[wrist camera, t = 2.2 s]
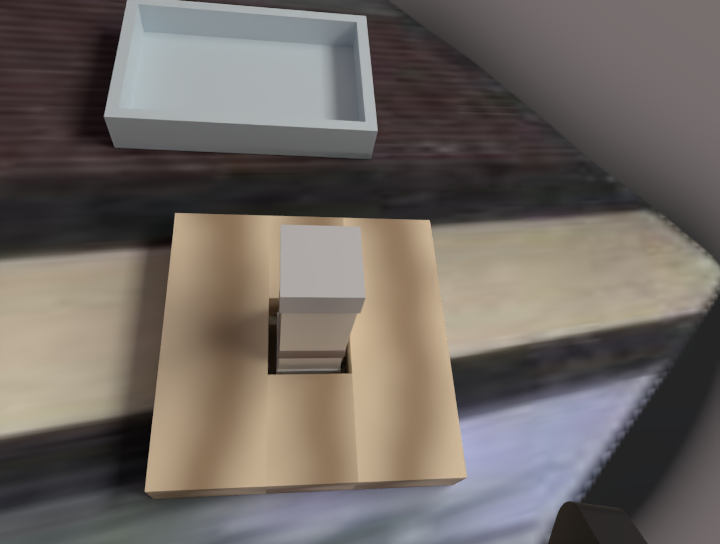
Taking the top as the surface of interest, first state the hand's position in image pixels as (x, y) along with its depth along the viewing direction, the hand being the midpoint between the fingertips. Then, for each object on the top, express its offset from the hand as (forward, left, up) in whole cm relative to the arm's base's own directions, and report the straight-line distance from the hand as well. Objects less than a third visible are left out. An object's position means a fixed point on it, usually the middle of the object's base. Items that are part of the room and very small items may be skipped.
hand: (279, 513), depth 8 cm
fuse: (+2, +11, -24) cm, 26 cm away
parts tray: (-2, +32, -24) cm, 40 cm away
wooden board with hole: (+2, +11, -24) cm, 26 cm away
